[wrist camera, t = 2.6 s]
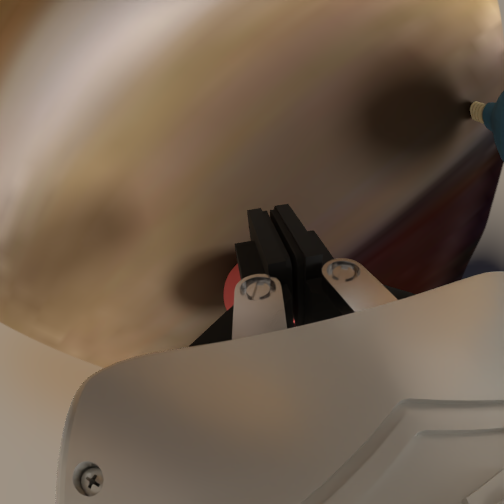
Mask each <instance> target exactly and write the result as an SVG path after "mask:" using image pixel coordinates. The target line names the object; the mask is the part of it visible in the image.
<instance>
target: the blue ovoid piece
mask: <svg viewBox="0 0 504 504" xmlns="http://www.w3.org/2000/svg"><path fill="white" fill-rule="evenodd" d="M470 114H471V117H472V119H473V120H475V121H478V122H481V123H483V124H485V126H486V127H487V128H488V129H489V130H490V131H492V132H493V134H494V140H495V144H496V147H497V149H498V152H499V154H500V157H501V159H502V160H503V162H504V91H503V92H502V93H501V95H500V96H499V98H498V100H497V103H487V104H483V103H480V102H476V101H475V102H473V104H472V105H471V107H470Z"/></svg>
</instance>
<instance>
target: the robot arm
mask: <svg viewBox="0 0 504 504" xmlns="http://www.w3.org/2000/svg"><path fill="white" fill-rule="evenodd" d="M247 214H248V222H249V230H250V238H251V241H248V242H242V243H237V244H235V250H236V256H237V262H238V268H239V273H240V278H241V280H240V281H239V282H238V283H237V285H236V287H235V291H234V305H233V306H232V307H231V308H230V309H228V310H227V311H226V312H225V313H224V314H223V315H222V316H221V317H220V318H219V319H218V320H217V321H216V322H215V323H214V324H212V325H211V326H210V327H209V328H208V329H207V330H206V331H205V332H204V333H203V334H202V335H201V336H200V337H198V338H197V339H196V340H195V341H194V342H193V343H192V344H191V345H190V346H189V347H185V348H179V349H173V350H167V351H161V352H154V353H149V354H145V355H140V356H136V357H132V358H129V359H126V360H123V361H119V362H117V363H115V364H112V365H110V366H108V367H105V368H103V369H101V370H99V371H98V372H96V373H95V374H93V375H91V376H90V377H88V378H87V379H86V380H85V381H84V382H83V383H82V385H81V386H80V388H79V389H78V390H77V392H76V394H75V396H74V398H73V400H72V402H71V405H70V408H69V411H68V414H67V418H66V422H65V426H64V430H63V435H62V440H61V446H60V452H59V459H58V469H57V482H56V504H504V272H487V273H483V274H479V275H475V276H472V277H469V278H466V279H462V280H459V281H456V282H453V283H450V284H447V285H444V286H441V287H438V288H435V289H432V290H429V291H426V292H423V293H420V294H417V295H416V294H413V293H410V292H406V291H403V290H399V289H396V288H393V287H389V286H386V285H382V284H381V283H380V282H379V281H378V280H377V279H376V278H375V277H374V276H373V275H372V274H371V273H369V272H368V271H367V270H366V269H365V268H364V267H363V266H362V265H361V264H359V263H358V262H356V261H354V260H351V259H345V258H338V259H334V258H333V257H332V255H331V254H330V252H329V251H328V250H327V248H326V247H325V245H324V244H323V243H322V241H321V240H320V238H319V237H318V236H317V234H316V233H315V232H314V231H307V230H306V229H305V227H304V226H303V224H302V223H301V222H300V220H299V219H298V217H297V216H296V214H295V213H294V212H293V210H292V209H291V207H290V206H289V205H288V204H285V205H278V206H275V207H274V210H270V217H269V215H268V213H267V211H262V210H261V208H259V209H253V210H247ZM294 321H295V324H296V326H297V327H294Z"/></svg>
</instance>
